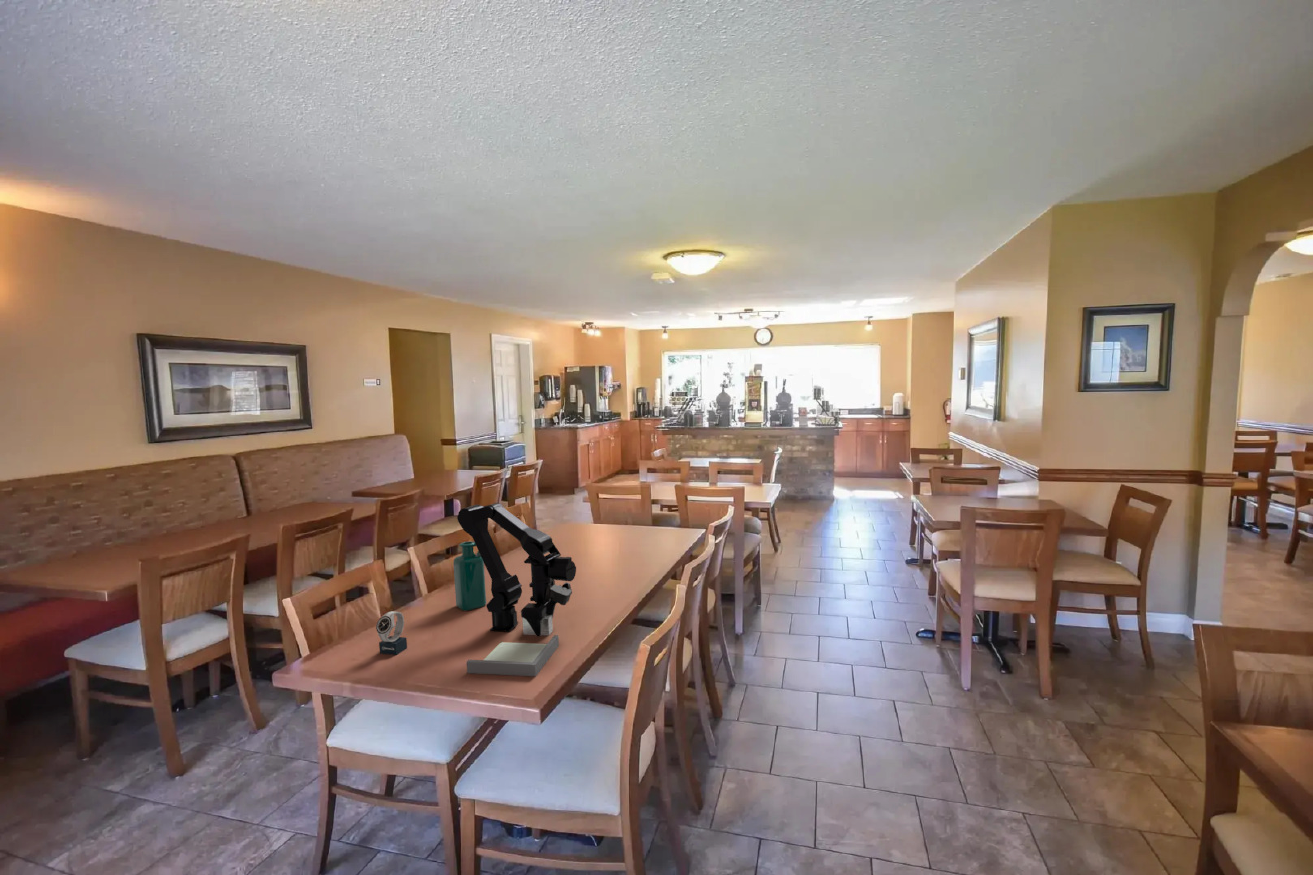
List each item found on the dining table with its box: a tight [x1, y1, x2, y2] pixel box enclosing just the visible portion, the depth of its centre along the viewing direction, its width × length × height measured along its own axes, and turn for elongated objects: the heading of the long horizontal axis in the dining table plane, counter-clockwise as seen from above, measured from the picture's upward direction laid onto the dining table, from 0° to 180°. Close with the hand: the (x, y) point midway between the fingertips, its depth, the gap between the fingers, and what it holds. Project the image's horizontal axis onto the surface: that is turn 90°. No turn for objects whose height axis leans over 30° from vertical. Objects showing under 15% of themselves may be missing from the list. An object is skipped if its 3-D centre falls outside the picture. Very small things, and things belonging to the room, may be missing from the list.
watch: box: [375, 610, 408, 656], centre depth 159 cm, size 6×8×11 cm
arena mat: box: [483, 641, 548, 662], centre depth 152 cm, size 16×16×1 cm
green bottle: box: [453, 540, 487, 612], centre depth 192 cm, size 10×8×22 cm
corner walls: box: [465, 634, 560, 677], centre depth 151 cm, size 18×17×3 cm
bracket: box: [521, 615, 554, 636], centre depth 170 cm, size 8×8×5 cm
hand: (544, 629), depth 167 cm, fingers open, 9 cm apart
